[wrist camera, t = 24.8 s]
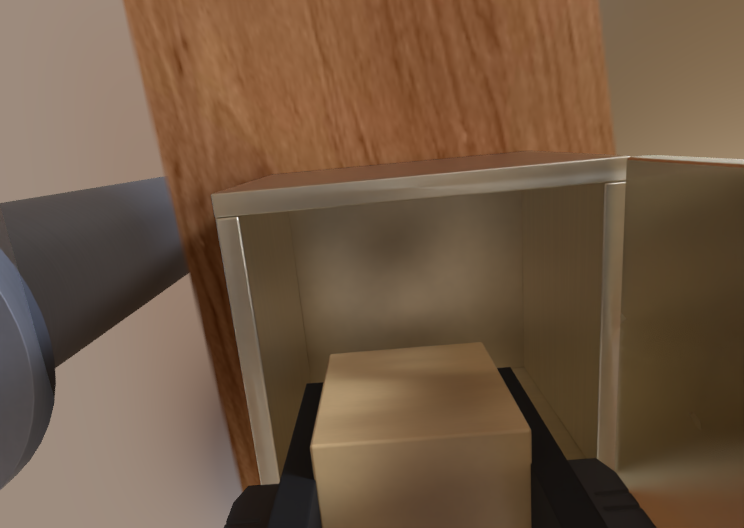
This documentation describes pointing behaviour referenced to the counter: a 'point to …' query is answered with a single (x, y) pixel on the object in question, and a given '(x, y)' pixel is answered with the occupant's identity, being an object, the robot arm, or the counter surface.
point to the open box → (432, 280)
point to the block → (420, 441)
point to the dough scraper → (683, 341)
